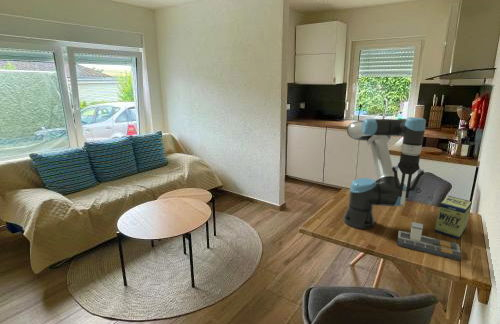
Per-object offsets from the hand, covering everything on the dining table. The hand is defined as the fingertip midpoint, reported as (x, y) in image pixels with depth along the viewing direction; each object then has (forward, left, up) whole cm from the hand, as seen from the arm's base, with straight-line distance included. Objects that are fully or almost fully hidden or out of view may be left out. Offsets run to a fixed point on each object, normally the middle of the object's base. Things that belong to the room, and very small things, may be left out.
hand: (402, 203), depth 135 cm
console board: (+12, 0, -18) cm, 22 cm away
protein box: (+23, +23, -19) cm, 38 cm away
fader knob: (+7, 0, -16) cm, 17 cm away
